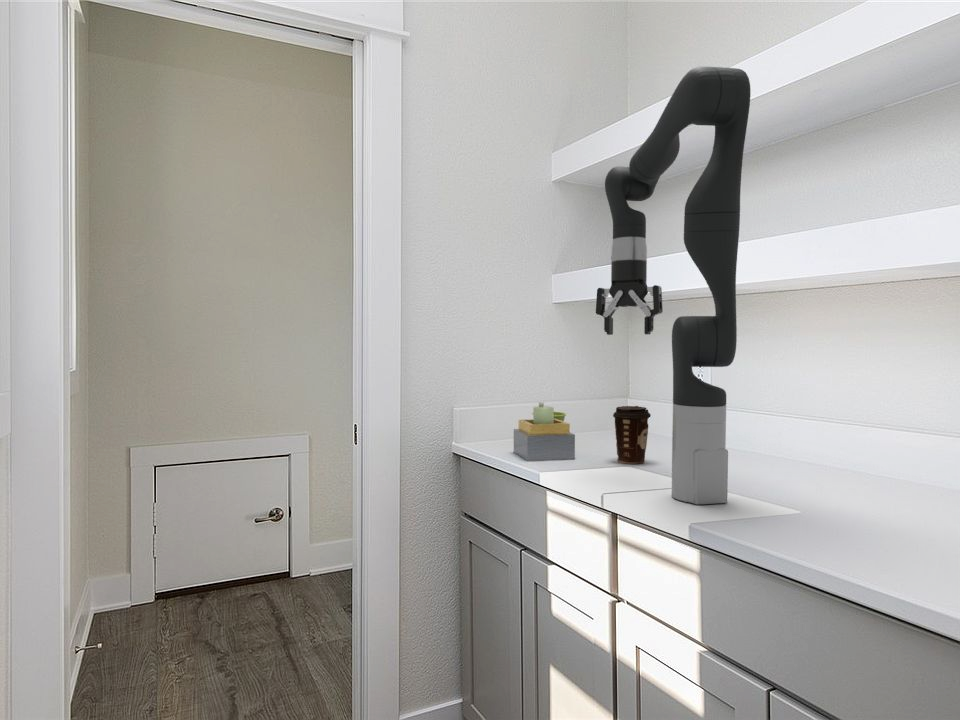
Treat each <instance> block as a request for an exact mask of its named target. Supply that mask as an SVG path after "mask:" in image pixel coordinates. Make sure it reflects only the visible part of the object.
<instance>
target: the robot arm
mask: <svg viewBox="0 0 960 720" xmlns="http://www.w3.org/2000/svg"><path fill="white" fill-rule="evenodd" d="M750 82H751V81H750V77H749V75H748V74H747V72H746V71H745V70H743V69H741V68H734V67H720V66H697V67H694V68H691V69H690V70H689V71H687V72H686V74H685V75H684V76H683V77H682V79H681V80H680V81H679V83H678V84H677V86H676V88H675V89H674V91H673V93H672V95H671V97H670V99H669V100H668V102H667V104H666V106H665V107H664V110H663V111H662V113H661V115H660V117H659V119H658V120H657V123H656V124H655V127H654V128H653V130H652V131H651V133H650V134H649V136H648V137H647V138H646V139H645V141H643V143H642V144H641V145H640V147H638V149H637V150H636V151H635V152H634V153H633V155H632V157H631V158H630V160H629V164H628V166H614V167H612V168H611V169H610V170H609V171H608V172H607V174H606V177H605V179H604V191H605V195H606V198H607V199H606V200H607V202H608V205H609V209H610V215H611V219H612V242H611V243H612V245H611V255H610V262H611V265H610V266H611V267H610V268H611V270H610V274H611V275H610V278H611V280H610V283H611V284H610V287H609V288H603V287H598V288H597V290H596V305H595V314H596V315H599V316H601V317H603V319H604V320H603V321H604V324H603V330H604V333H606V335H608V336H609V335H612V336H613V334H614V317H613V316H614V314H615V313H616V311H618V310H619V308H628V307H631V308H632V307H634V308H635V307H638V308H639V309H640V310H641V311H642V312H643V313H644V315H645V317H644V331H643V333H644V335H651V334H652V333H653V331H654V317H655V316H657V315H660V314H662V313H663V292H662V290H663V289H662V286H661V285H656V284H655V285H653V286H648V284H647V281H648V280H647V277H648V275H647V269H648V268H647V267H648V266H647V264H648V263H647V261H648V258H647V255H648V249H647V247H648V246H647V239H646V238H647V236H646V235H647V217H646V214H645V213H644V212H642V211H640V210H637V209H634V208H631V206H630V205H629V203H628V201H629V202H644V201H646V200H648V199H649V198H651V197H652V196H653V194H654V191H655V190H656V189H655V188H656V187H657V184H658V182H659V179H660V178H661V176H662V175H664V173H665V172H666V171H667V170H668V169H669V168H670V167H671V166H672V165H673V163H674V162H675V161H676V160H677V157H678V155H679V151H680V145H681V144H680V143H681V142H680V133H681V132H682V131H683V130H685V129H686V128H687V127H689V126H690V125H695V126H710V127H711V126H714V141H713V147H712V150H711V151H712V152H711V154H710V155H711V156H710V158H709V161H708V163H707V165H706V167H705V168H704V170H703V172H702V173H701V174H700V176H699V178H698V180H697V181H696V182H695V185H694V186H693V187H692V190H691V191H690V193H689V195H688V196H687V199H686V201H685V206H684V214H683V218H684V219H683V243H684V245H685V246H684V247H685V249H686V251H687V252H688V255H689V257H690V258H691V260H692V262H693V263H694V265H695V266H696V268H697V270H699V272H700V274H701V275H702V277H703V278H704V281H705V282H706V284H707V286H708V288H709V290H710V292H711V296H712V299H713V303H714V310H715V314H714V315H690V316H689V315H685V316H679V317H677V318H676V319H675V320H674V322H673V324H672V328H671V329H672V330H671V352H672V354H671V355H672V378H673V379H672V429H671V430H672V433H671V435H672V436H671V437H672V439H671V441H672V444H671V445H672V446H671V447H672V449H671V451H672V452H671V497H672V498H673V499H675V500H678V501H681V502H685V503H691V504H694V505H710V504H711V505H712V504H727V503H728V499H729V498H728V496H729V495H728V492H729V491H728V486H729V485H728V484H729V483H728V479H729V473H728V472H729V451H728V449H727V448H726V447H727V446H726V445H727V443H726V441H727V439H726V437H727V434H726V433H727V392H726V390H725V389H724V388H721V387H719V386H716V385H713V384H710V383H707V382H705V381H704V380H701V379H700V378H699V377H697V376H696V375H695V374H694V372H693V368H695V367H696V368H698V367H701V368H724V367H725V368H726V367H730V365H731V364H732V363H733V362H734V360H735V357H736V356H735V355H736V351H737V336H738V334H737V331H738V328H737V285H736V284H737V264H738V263H737V262H738V251H739V240H740V239H739V237H740V224H741V223H740V221H741V218H740V217H741V186H742V185H741V184H742V170H743V160H744V159H743V158H744V149H745V141H746V135H747V129H748V128H747V127H748V121H749V114H750V105H751V83H750ZM648 293H649V295H650V296H651V297H652V303H653V304H652V306H653V309H652V308H651V307H650V304H649V303H648V302H647V300H646V299H645V298H646V296H648ZM609 295H610V296H611V298H612V300H611V301H610V302H609V304H608V305H607V308H606V299H607V298H608V297H609Z"/></svg>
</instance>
